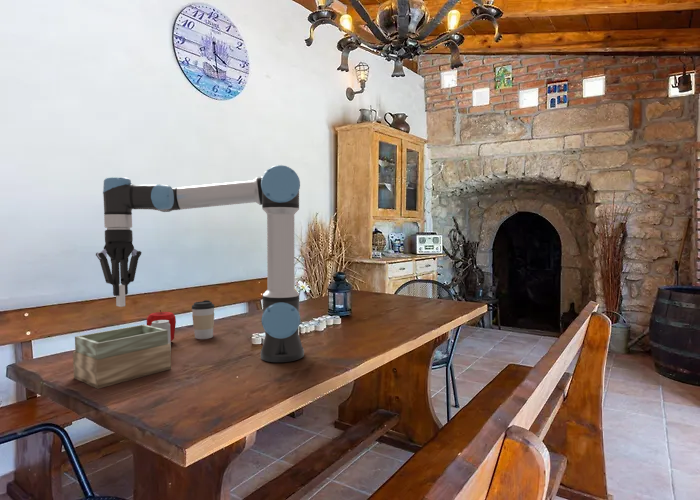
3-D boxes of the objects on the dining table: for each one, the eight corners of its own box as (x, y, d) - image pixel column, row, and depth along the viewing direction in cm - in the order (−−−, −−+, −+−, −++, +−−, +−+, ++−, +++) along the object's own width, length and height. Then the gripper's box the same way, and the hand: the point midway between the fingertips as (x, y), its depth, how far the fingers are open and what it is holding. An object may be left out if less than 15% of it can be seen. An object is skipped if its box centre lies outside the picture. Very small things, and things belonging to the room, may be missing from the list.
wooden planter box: (171, 369, 142) (169, 329, 141) (97, 388, 125) (95, 344, 124) (145, 360, 152) (144, 324, 151) (73, 377, 134) (72, 336, 134)
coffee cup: (208, 341, 178) (207, 303, 178) (187, 340, 180) (186, 303, 179) (219, 335, 187) (218, 300, 186) (199, 335, 189) (198, 299, 188)
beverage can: (155, 352, 162) (154, 319, 161) (173, 352, 162) (172, 319, 162) (148, 357, 155) (147, 323, 155) (167, 356, 156) (166, 322, 156)
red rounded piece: (158, 349, 166) (156, 313, 166) (141, 346, 172) (140, 310, 171) (182, 343, 175) (181, 308, 175) (165, 340, 181) (164, 306, 180)
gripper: (133, 229, 144) (135, 302, 145) (90, 229, 133) (92, 307, 134) (145, 228, 139) (147, 304, 140) (101, 228, 129) (104, 310, 130)
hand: (120, 305), depth 137 cm, fingers closed
